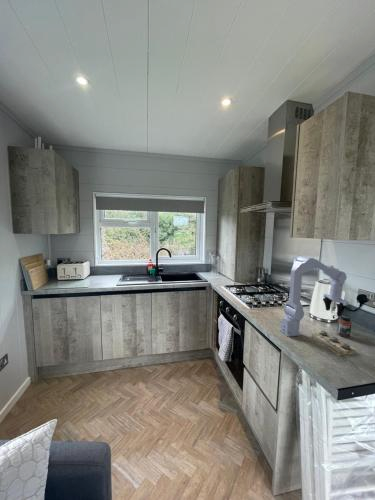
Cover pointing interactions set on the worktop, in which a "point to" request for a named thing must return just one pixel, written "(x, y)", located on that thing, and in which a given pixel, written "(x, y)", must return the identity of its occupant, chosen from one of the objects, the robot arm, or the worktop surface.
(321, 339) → the button board
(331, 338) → the button middle
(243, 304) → the worktop surface
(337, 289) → the robot arm
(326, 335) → the button left
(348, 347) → the button right
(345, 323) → the supplement bottle
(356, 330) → the worktop surface
